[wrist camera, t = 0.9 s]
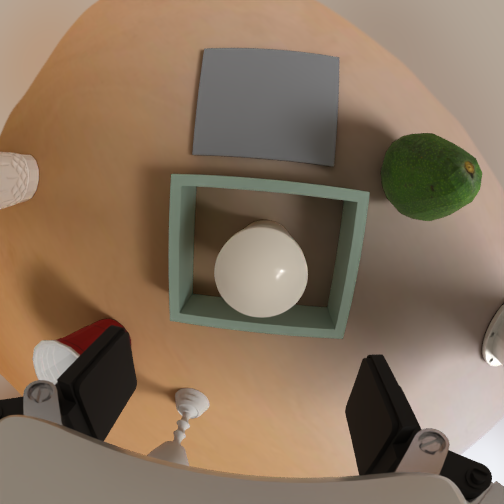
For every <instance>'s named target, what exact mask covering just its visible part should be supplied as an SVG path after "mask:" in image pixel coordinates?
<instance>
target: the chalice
mask: <svg viewBox="0 0 504 504" xmlns="http://www.w3.org/2000/svg"><path fill="white" fill-rule="evenodd" d="M175 400H176V401H175V402H176V408H177V410H178V412H179V413H180V414H181V415H182V419H181V420H178V421H177V425H178V429H177V430H176V431H174V440H173V442H172V441H167V442H164V443H163V444H161V445H160V446H158V447H157V448H155V449H154V450H152V451H151V452H150V453H149V454H148V455H147V456H150V457H153V458H157V459H161V460H165V461H169V462H173V463H177V464H182V465H186V466H189V463H188V459H187V455H186V451H185V449H184V447H183V446H181V445H180V442H181V441H182V439H183V438H185V437H186V436H185V430H186V429H188V428H189V427H190V425H189V423H188V420H189V418H197V417H199V416H200V415H201V414H203V413H204V411H206V410H207V409H208V407H209V401H208V399H207V397H206V396H205V395H204V394H203V393H201V392H199V391H198V390H195V389H191V388H183V389H180V390H178V391H177V392H176V394H175Z"/></svg>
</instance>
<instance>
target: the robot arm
mask: <svg viewBox="0 0 504 504" xmlns="http://www.w3.org/2000/svg"><path fill="white" fill-rule="evenodd" d="M482 354H483V358H484V360H485V361H486V362H487V363H488V364H489V365H491V366H500V365H503V366H504V304H503V305H502V306H501V308H500V309H499V310H498V311H497V313H496V314H495V316H494V318H493V319H492V321H491V323H490V325H489V327H488V329H487V332H486V334H485V338H484V341H483V347H482ZM57 381H58V382H57V383H56V384H55V385H54V384H53V383H51V382H50V381H46V380H38V381H34V382H32V383H30V384H29V385H28V386H27V387H26V388H25V390H24V395H23V397H18V398H11V399H5V400H0V504H504V486H502V485H501V484H500V483H498V482H497V481H496V482H495V483H492V482H491V480H492V475H491V472H490V470H489V469H488V468H487V467H486V466H485V465H483V464H481V463H478V462H475V461H473V460H471V459H468V458H466V457H463V456H461V455H459V454H456V453H454V452H452V451H449V440H448V438H447V437H446V435H444V434H443V433H442V432H441V431H439V430H436V429H432V428H426V429H423V430H421V428H420V426H419V423H418V421H417V419H416V417H415V415H414V413H413V411H412V409H411V407H410V405H409V403H408V401H407V399H406V397H405V394H404V392H403V391H402V389H401V387H400V386H399V385H398V383H397V381H396V379H395V377H394V375H393V373H392V371H391V369H390V367H389V365H388V363H387V362H386V360H385V358H384V356H383V355H368V356H367V358H364V359H363V360H362V363H361V366H360V369H359V372H358V375H357V378H356V381H355V383H354V386H353V389H352V392H351V394H350V397H349V400H348V402H347V405H346V410H345V413H346V418H347V422H348V426H349V431H350V435H351V439H352V444H353V448H354V453H355V457H356V462H357V467H358V472H359V476H346V477H324V478H285V477H266V476H254V475H243V474H235V473H227V472H220V471H214V470H207V469H202V468H196V467H191V466H186V465H182V464H177V463H173V462H169V461H165V460H161V459H157V458H153V457H150V456H146V455H143V454H139V453H136V452H133V451H130V450H126V449H123V448H120V447H118V446H115V445H112V444H109V443H106V442H103V441H104V440H105V438H106V437H107V435H108V433H109V432H110V430H111V428H112V427H113V425H114V423H115V422H116V420H117V418H118V417H119V415H120V413H121V412H122V410H123V409H124V407H125V405H126V404H127V402H128V400H129V399H130V397H131V396H132V394H133V392H134V391H135V389H136V386H137V380H136V374H135V369H134V363H133V357H132V351H131V344H130V337H129V333H128V332H126V330H125V328H123V327H119V326H114V325H111V326H109V327H108V328H107V329H106V330H105V331H104V332H103V333H102V334H101V335H100V336H99V337H98V338H97V339H96V340H95V341H94V342H93V343H92V344H91V345H90V346H89V347H88V348H87V349H86V350H85V351H84V352H83V353H82V354H81V355H80V356H79V357H78V358H77V359H76V360H75V361H74V362H73V363H72V364H71V365H70V366H69V367H68V368H67V370H66V371H65V372H64V373H63V374H62V375H61V376H60V377H59V378H58V379H57Z"/></svg>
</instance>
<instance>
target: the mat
mask: <svg viewBox="0 0 504 504" xmlns="http://www.w3.org/2000/svg"><path fill="white" fill-rule="evenodd" d="M338 94H339V57H333V56H327V55H321V54H313V53H306V52H297V51H287V50H274V49H256V48H209V49H204V55H203V62H202V69H201V76H200V84H199V92H198V101H197V110H196V120H195V130H194V141H193V153H192V155H208V156H230V157H246V158H259V159H271V160H282V161H292V162H301V163H309V164H318V165H325V166H332V167H333V166H334V160H335V148H336V133H337V116H338Z"/></svg>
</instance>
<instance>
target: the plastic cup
mask: <svg viewBox="0 0 504 504" xmlns="http://www.w3.org/2000/svg"><path fill="white" fill-rule="evenodd" d="M111 325H114V326H119V327H123V326H122V325H121V324H119V323H118V322H117V321H115V320H112V319H102V320H99V321H97V322H95V323H93V324H91V325H90V326H86V327H84V328H82V329H80V330H78V331H76V332H74V333H72V334H70V335H68V336H66V337H64V338H60V339H57V340H43V341H41V342H40V343H39V344H38V345H37V346H35V348H34V354H33V363H34V368H35V372H36V375H37V377H38V379H39V380H46V381H50V382H51V383H53V384H54V385H55V384H56V383H57V382H58V381H57V379H58V378H59V377H60V376H61V375H62V374H63V373H64V372H65V371H66V370H67V368H68V367H69V366H70V365H71V364H72V363H73V362H74V361H75V360H76V359H77V358H78V357H79V356H80V355H81V354H82V353H83V352H84V351H85V350H86V349H87V348H88V347H89V346H90V345H91V344H92V343H93V342H94V341H95V340H96V339H97V338H98V337H99V336H100V335H101V334H102V333H103V332H104V331H105V330H106V329H107V328H108V327H109V326H111ZM123 328H124V327H123ZM125 330H126V329H125ZM126 332H127V331H126ZM129 337H130V336H129ZM130 344H131V339H130Z"/></svg>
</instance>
